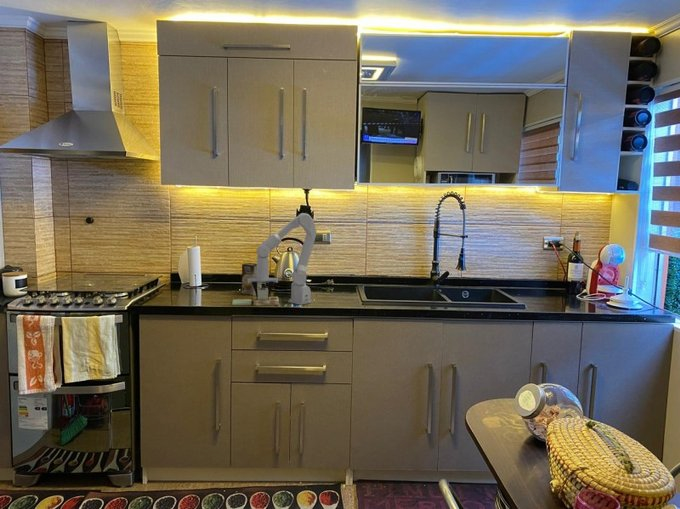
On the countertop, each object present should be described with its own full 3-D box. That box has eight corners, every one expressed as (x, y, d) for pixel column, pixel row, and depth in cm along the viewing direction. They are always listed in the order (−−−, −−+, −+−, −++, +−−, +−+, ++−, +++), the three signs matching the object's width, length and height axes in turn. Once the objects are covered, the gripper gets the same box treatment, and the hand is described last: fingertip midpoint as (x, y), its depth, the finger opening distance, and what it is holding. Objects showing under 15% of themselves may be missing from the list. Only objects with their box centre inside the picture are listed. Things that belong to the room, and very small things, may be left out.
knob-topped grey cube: (267, 301, 233) (267, 287, 232) (268, 304, 228) (268, 289, 227) (257, 302, 232) (257, 287, 231) (257, 304, 227) (257, 289, 226)
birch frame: (277, 300, 236) (277, 296, 236) (278, 304, 227) (278, 300, 226) (253, 301, 234) (253, 296, 234) (253, 305, 225) (253, 301, 224)
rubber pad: (251, 300, 235) (251, 299, 235) (251, 304, 226) (251, 303, 226) (233, 301, 233) (233, 299, 233) (232, 305, 224) (232, 303, 224)
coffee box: (241, 293, 253) (241, 263, 251) (249, 291, 258) (249, 262, 256) (253, 295, 247) (253, 265, 246) (262, 293, 253) (262, 264, 251)
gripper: (247, 270, 223) (247, 299, 225) (278, 270, 226) (278, 298, 227) (247, 268, 230) (247, 296, 232) (277, 268, 233) (277, 295, 234)
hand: (262, 297), depth 230 cm, fingers open, 5 cm apart
